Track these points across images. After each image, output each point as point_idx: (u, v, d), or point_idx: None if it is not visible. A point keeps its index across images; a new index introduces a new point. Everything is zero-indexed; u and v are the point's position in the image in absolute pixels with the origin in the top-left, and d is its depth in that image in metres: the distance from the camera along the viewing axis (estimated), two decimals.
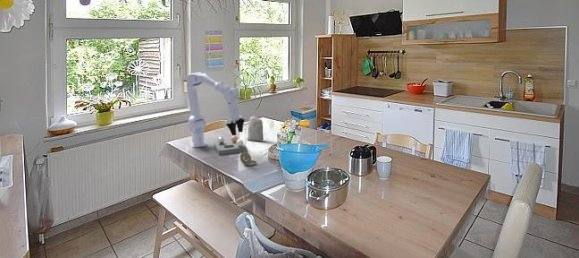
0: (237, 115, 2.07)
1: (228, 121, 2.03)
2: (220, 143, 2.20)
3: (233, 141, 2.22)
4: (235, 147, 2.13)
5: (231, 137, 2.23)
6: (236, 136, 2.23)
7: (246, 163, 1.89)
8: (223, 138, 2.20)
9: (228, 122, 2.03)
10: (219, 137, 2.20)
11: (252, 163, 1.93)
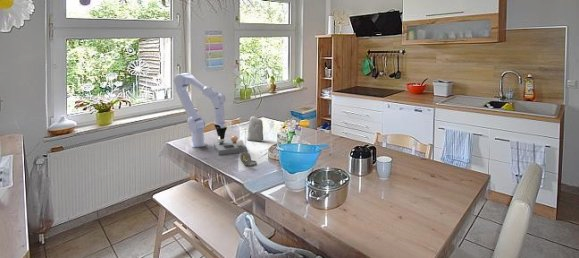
0: (224, 119, 2.18)
1: (222, 125, 2.12)
2: (220, 143, 2.20)
3: (233, 141, 2.22)
4: (235, 147, 2.13)
5: (231, 137, 2.23)
6: (236, 136, 2.23)
7: (246, 163, 1.89)
8: None
9: (222, 126, 2.12)
10: (219, 137, 2.20)
11: (252, 163, 1.93)
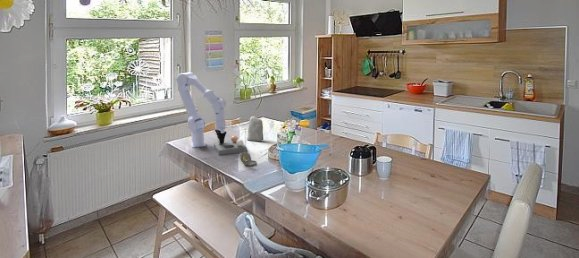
0: (224, 124, 2.18)
1: (222, 131, 2.12)
2: (220, 143, 2.20)
3: (233, 141, 2.22)
4: (235, 147, 2.13)
5: (231, 137, 2.23)
6: (236, 136, 2.23)
7: (246, 163, 1.89)
8: None
9: (222, 131, 2.12)
10: None
11: (252, 163, 1.93)
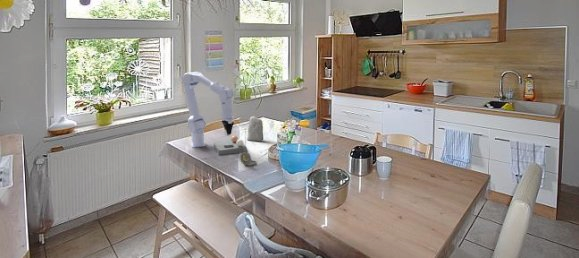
0: None
1: (230, 121, 2.05)
2: (227, 135, 2.13)
3: (233, 141, 2.22)
4: (235, 147, 2.13)
5: (231, 137, 2.23)
6: (236, 136, 2.23)
7: (246, 163, 1.89)
8: None
9: (230, 122, 2.05)
10: None
11: (252, 163, 1.93)
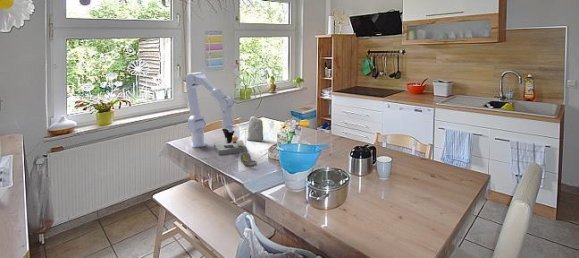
0: (232, 123, 2.12)
1: (230, 130, 2.06)
2: (227, 143, 2.14)
3: (233, 141, 2.22)
4: (235, 147, 2.13)
5: None
6: (236, 136, 2.23)
7: (246, 163, 1.89)
8: None
9: (230, 131, 2.06)
10: None
11: (252, 163, 1.93)
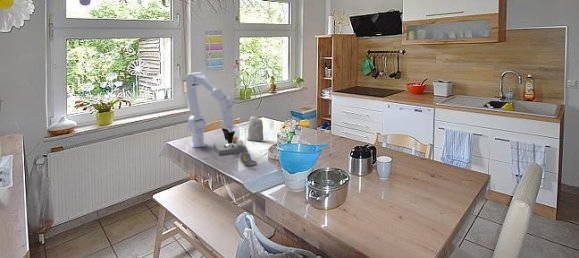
0: (232, 123, 2.12)
1: (230, 130, 2.06)
2: None
3: (233, 141, 2.22)
4: (235, 147, 2.13)
5: None
6: (236, 136, 2.23)
7: (246, 163, 1.89)
8: (231, 145, 2.15)
9: (230, 131, 2.06)
10: (227, 144, 2.15)
11: (252, 163, 1.93)
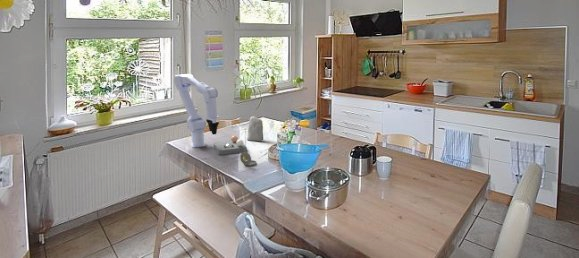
0: (216, 114, 2.12)
1: (214, 120, 2.06)
2: None
3: (233, 141, 2.22)
4: (235, 147, 2.13)
5: (231, 137, 2.23)
6: (236, 136, 2.23)
7: (246, 163, 1.89)
8: (231, 145, 2.15)
9: (214, 121, 2.07)
10: (227, 144, 2.16)
11: (252, 163, 1.93)
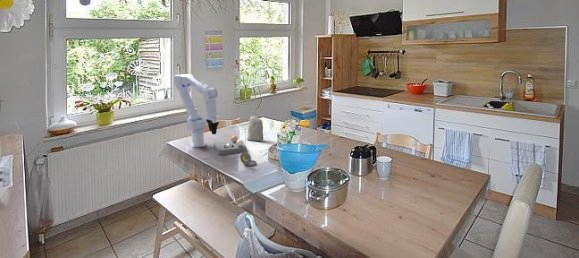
0: (216, 114, 2.12)
1: (214, 120, 2.06)
2: None
3: (233, 141, 2.22)
4: (235, 147, 2.13)
5: (231, 137, 2.23)
6: (236, 136, 2.23)
7: (246, 163, 1.89)
8: None
9: (214, 121, 2.07)
10: None
11: (252, 163, 1.93)
